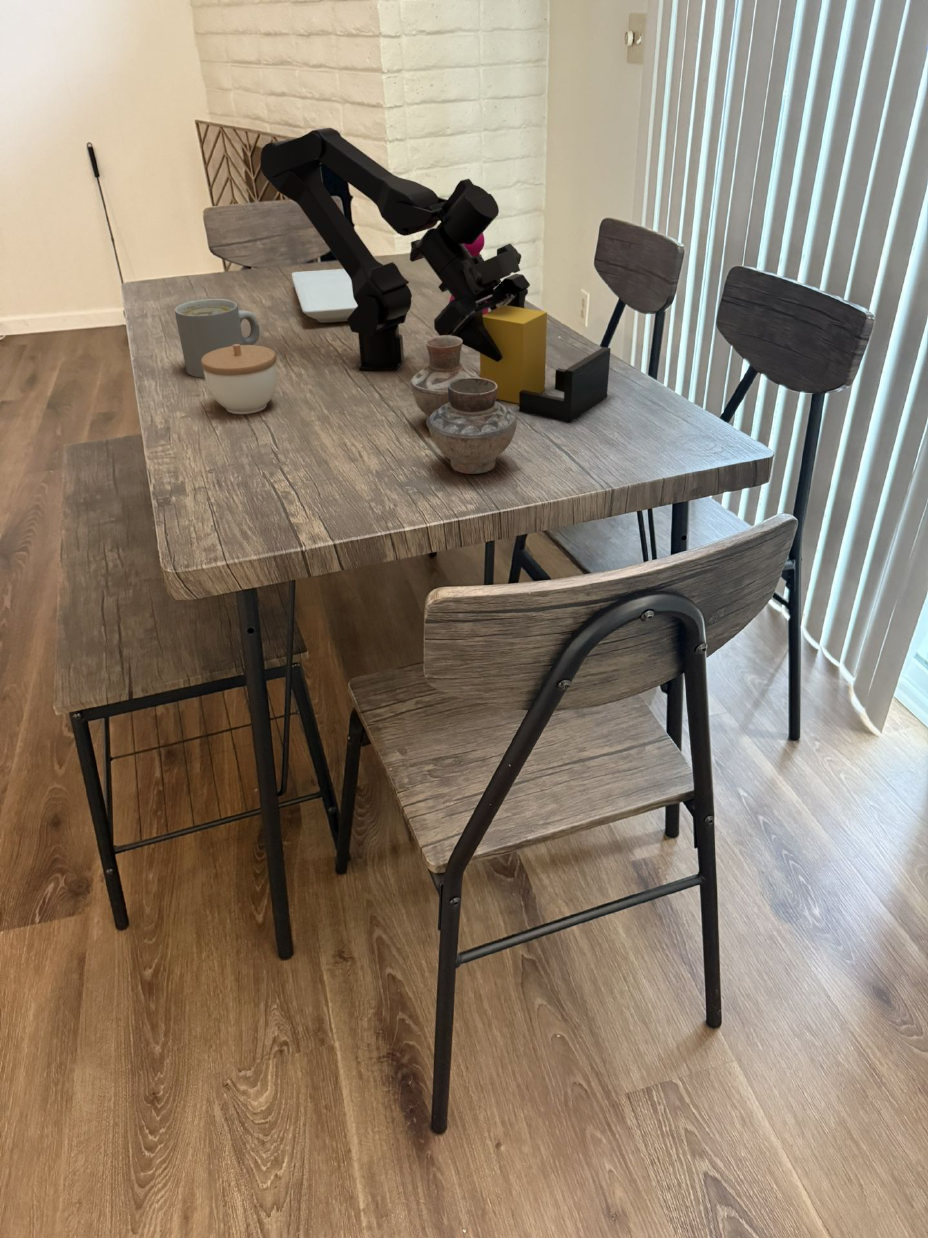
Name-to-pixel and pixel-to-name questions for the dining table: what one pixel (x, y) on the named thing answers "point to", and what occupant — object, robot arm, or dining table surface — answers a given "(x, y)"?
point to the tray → (325, 294)
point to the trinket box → (241, 377)
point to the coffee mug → (211, 329)
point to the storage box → (516, 351)
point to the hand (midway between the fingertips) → (516, 351)
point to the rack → (572, 389)
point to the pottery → (461, 409)
